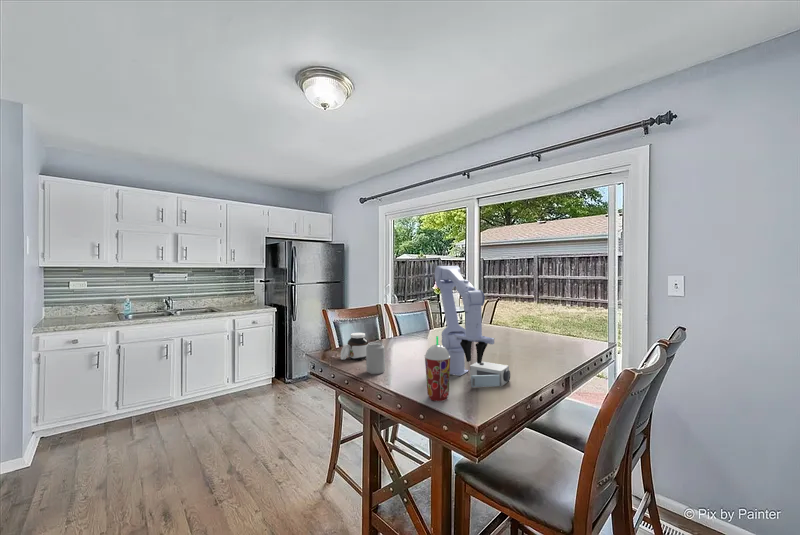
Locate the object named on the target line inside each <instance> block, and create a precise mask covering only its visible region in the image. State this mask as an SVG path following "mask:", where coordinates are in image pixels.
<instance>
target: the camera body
mask: <svg viewBox="0 0 800 535" xmlns="http://www.w3.org/2000/svg"><path fill="white" fill-rule="evenodd" d="M499 374H500V375H501V379H502V386H500V387H503V386H504V385H505V384H507V383H508V382H510V380H511V371H510V365H507V364H500V363H496V362H495V363H494V362H488V361H482V362H481V363H480V364H478V363H477V361H476V362H474V363H472V364H470V365H469V381H470V382H471V375H499Z"/></svg>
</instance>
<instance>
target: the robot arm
mask: <svg viewBox="0 0 800 535" xmlns="http://www.w3.org/2000/svg"><path fill="white" fill-rule="evenodd" d="M434 279H435V285H436V287H437V288H438V289H439V290H440V295H441V300H442V307H443V310H444V311H443V312H444V318H445V323H446V327H445V328H444V329H443V330H442V332H441V345H442V346H444V347H445V348H446V349H447V351H448V353H449V355H450V356H451V357H450V375H452V376H457V377H461V376H464V375H465V374H466V373H468V372H470V369H467V368H465V367H466V366H465V365H466V364H465V363H466V362H467V363H469V362H471V361H472V344H473V343H476V344H475V348H476V362H477V363H478V364H480V363H481V362H483V356H484V353H485V350H486V348H487V347H488V345H494V344H495V338H494V337H489V336H485V335H483V324H482V323H483V320H482V319H483V318H482V313H483V312H482V306H484V304H485V293H484V292H483V290H482V289H476V288H475V287H474V286H473V284H472V283H471V282H470V281H469V279H464V278H463V276H462V273H461V268H460V266H459V265H457V264H456V265H437V266H436V267H435V268H434ZM454 288H456V292H458V294H459V295H460V297H461V299H462V300H461V301H462V305H463V310H464V315H465V319H464V320H465V322H464V325H465V326H464V327H463V326H461V325H460V322H459V318H458V314H457V308H456V304H455V297H454V292H453V289H454ZM465 359H466V362H465Z"/></svg>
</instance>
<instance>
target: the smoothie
mask: <svg viewBox="0 0 800 535" xmlns="http://www.w3.org/2000/svg"><path fill="white" fill-rule="evenodd" d="M435 341H436V342H435V344H434V345H431V346H430V347H428V348H427V350H426V353H425V355H424V364H425V378H426V390H427V396H428V397H429V400H430V401H434V402H444V401H446V400H448V399H447V398H448V396H449V392H450V376H451V374H450V357H451V356H450V355H449V353H448V351H447V349H446V348H445V347H444V346H442V344H439V335H438V336H436V338H435Z"/></svg>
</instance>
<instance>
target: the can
mask: <svg viewBox="0 0 800 535" xmlns="http://www.w3.org/2000/svg"><path fill="white" fill-rule="evenodd" d="M385 354H386V352H385V346H384V343H383V342H381V341H370V342H368V346H367V347H366V358H365V360H366V362H365V363H366V366H365V367H366V372H368V374H369V373H371V374H370V375H381V374H383V373H384V372H385V369H386V363H385V359H386V356H385Z"/></svg>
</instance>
